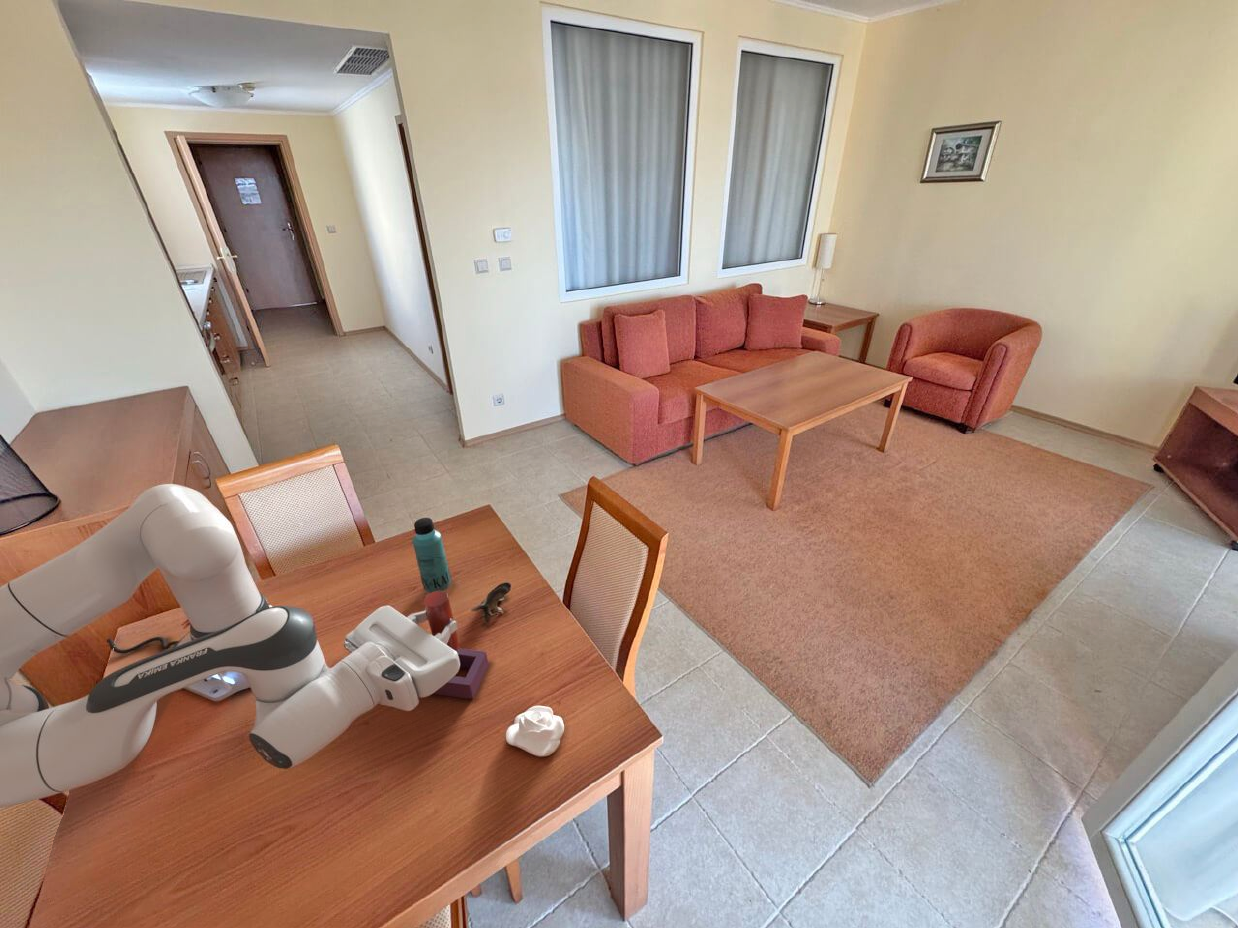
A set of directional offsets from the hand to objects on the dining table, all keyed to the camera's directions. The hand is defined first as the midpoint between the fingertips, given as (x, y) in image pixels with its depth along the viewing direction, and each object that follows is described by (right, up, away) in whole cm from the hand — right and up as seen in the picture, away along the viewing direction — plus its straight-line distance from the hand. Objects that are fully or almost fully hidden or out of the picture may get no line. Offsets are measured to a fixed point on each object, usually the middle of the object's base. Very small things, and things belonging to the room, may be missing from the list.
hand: (445, 616), depth 88 cm
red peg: (0, -7, +3) cm, 7 cm away
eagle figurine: (+2, -7, +25) cm, 26 cm away
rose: (+16, -21, -1) cm, 26 cm away
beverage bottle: (-13, -3, +32) cm, 34 cm away
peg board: (-6, -15, +10) cm, 19 cm away
